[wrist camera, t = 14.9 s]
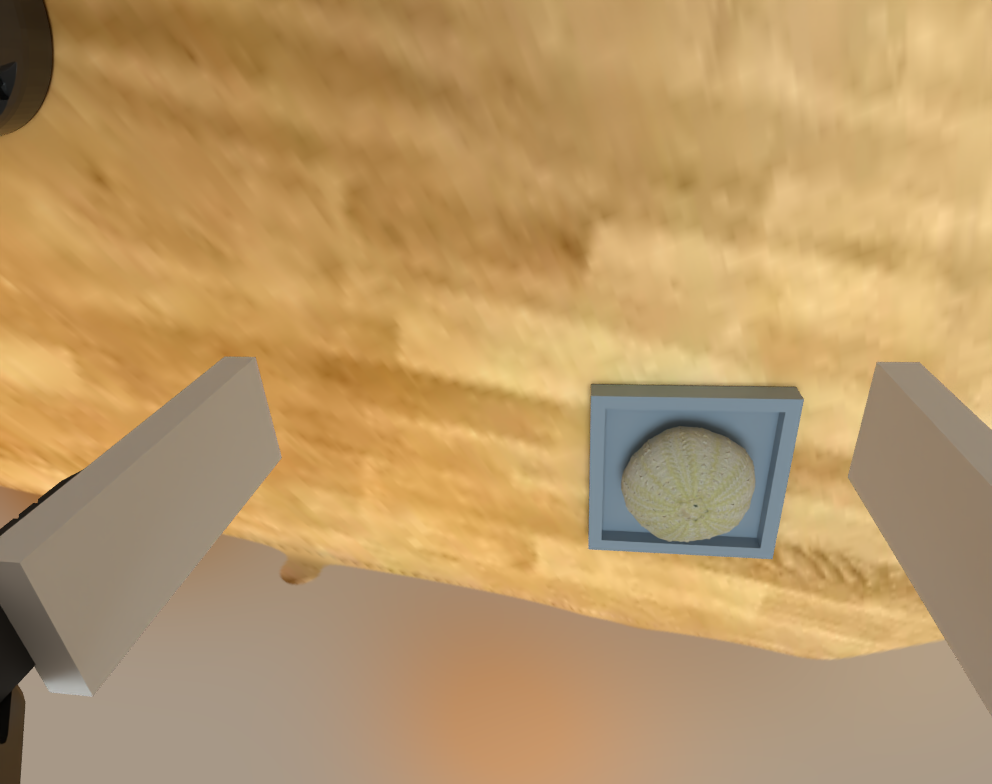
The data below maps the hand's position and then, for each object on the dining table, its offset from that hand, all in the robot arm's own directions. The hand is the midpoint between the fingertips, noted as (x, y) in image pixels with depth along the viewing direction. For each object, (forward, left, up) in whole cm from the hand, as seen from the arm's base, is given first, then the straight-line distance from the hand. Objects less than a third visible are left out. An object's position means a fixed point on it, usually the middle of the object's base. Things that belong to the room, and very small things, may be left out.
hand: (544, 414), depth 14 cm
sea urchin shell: (+8, -21, -28) cm, 36 cm away
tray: (+8, -21, -29) cm, 36 cm away
